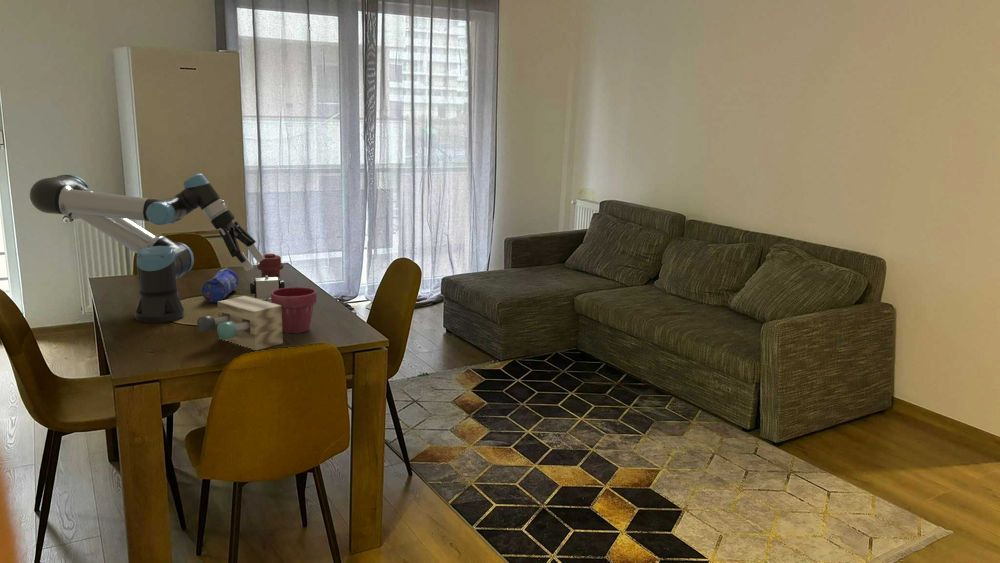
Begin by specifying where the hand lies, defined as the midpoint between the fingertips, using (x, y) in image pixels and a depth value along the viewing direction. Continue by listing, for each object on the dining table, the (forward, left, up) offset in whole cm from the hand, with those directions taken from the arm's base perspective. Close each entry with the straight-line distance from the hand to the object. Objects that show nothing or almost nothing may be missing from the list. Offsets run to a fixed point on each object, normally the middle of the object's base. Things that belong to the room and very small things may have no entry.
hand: (256, 265), depth 275 cm
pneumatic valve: (+3, 0, -16) cm, 16 cm away
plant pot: (+18, -26, -16) cm, 35 cm away
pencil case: (-18, +17, -16) cm, 30 cm away
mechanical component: (-4, +37, -16) cm, 41 cm away
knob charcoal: (-2, -41, -11) cm, 42 cm away
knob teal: (+6, -47, -11) cm, 49 cm away
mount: (+7, -39, -16) cm, 42 cm away
